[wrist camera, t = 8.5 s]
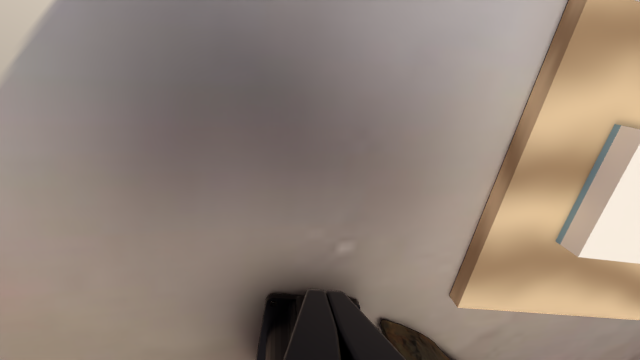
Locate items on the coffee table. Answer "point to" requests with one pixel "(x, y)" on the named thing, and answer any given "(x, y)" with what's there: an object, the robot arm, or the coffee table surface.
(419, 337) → the hand tool
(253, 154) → the coffee table surface
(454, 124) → the coffee table surface
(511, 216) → the board
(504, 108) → the coffee table surface
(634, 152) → the tile
